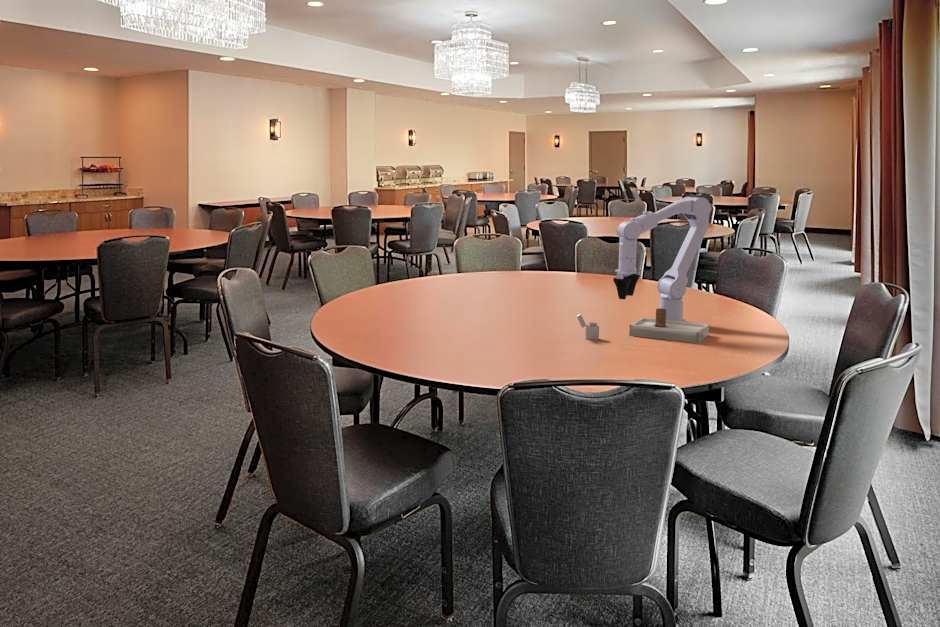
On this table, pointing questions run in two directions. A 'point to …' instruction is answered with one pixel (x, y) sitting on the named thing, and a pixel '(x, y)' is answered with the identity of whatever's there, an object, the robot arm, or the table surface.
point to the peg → (660, 318)
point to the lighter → (590, 328)
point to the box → (670, 330)
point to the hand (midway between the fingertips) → (625, 297)
